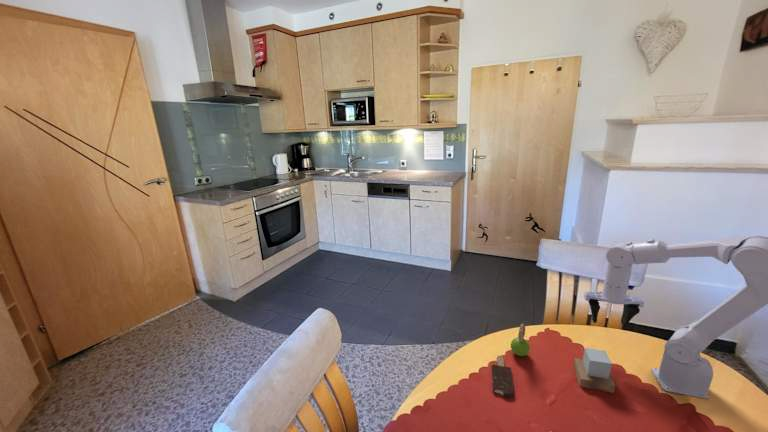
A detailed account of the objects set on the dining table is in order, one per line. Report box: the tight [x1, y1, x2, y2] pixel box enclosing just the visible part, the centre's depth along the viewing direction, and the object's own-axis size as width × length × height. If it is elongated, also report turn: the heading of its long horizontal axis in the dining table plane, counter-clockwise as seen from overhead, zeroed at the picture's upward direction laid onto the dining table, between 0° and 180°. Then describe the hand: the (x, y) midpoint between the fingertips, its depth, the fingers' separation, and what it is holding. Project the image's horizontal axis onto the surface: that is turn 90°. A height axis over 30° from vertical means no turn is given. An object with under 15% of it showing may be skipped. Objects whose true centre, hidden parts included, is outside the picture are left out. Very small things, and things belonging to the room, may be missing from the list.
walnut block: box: [573, 357, 617, 394], centre depth 89 cm, size 8×8×3 cm
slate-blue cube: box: [582, 347, 613, 379], centre depth 88 cm, size 5×5×5 cm
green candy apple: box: [510, 323, 531, 357], centre depth 97 cm, size 5×6×12 cm
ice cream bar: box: [491, 355, 515, 399], centre depth 91 cm, size 5×2×15 cm
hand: (608, 322), depth 97 cm, fingers open, 7 cm apart
